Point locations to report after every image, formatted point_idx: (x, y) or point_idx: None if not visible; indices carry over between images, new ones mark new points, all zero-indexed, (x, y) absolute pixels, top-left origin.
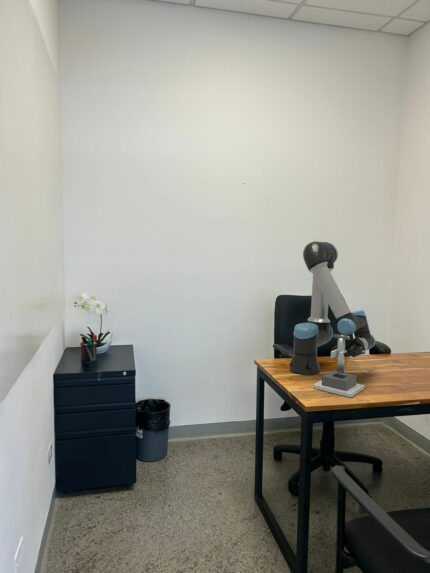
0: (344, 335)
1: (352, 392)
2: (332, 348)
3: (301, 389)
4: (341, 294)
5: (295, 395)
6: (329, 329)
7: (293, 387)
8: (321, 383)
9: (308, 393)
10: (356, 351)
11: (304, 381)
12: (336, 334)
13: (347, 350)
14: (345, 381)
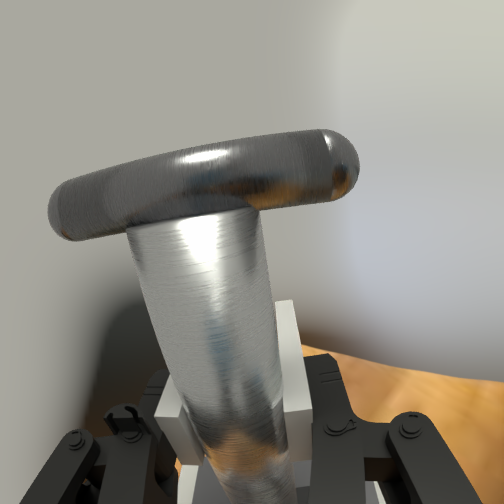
0: (127, 163)
1: (182, 481)
2: (408, 415)
3: (402, 406)
4: None
5: (364, 361)
6: None
7: (435, 395)
8: (375, 483)
9: (352, 401)
10: (46, 476)
11: (481, 472)
12: (280, 135)
13: (149, 426)
14: (206, 457)
